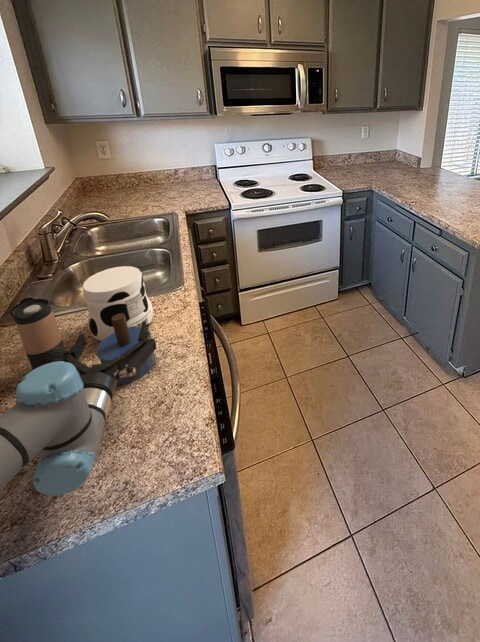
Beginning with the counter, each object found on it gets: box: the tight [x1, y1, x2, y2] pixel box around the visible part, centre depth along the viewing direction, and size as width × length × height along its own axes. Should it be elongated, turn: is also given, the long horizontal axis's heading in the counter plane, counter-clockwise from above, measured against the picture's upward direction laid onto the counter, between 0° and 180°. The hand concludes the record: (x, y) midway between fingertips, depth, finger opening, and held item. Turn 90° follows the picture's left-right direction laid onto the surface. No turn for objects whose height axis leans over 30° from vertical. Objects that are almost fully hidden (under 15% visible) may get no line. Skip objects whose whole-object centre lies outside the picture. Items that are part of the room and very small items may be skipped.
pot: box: [99, 326, 156, 386], centre depth 94 cm, size 12×17×8 cm
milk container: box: [82, 265, 154, 343], centre depth 108 cm, size 17×17×18 cm
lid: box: [95, 313, 152, 362], centre depth 92 cm, size 13×13×9 cm
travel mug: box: [11, 298, 66, 371], centre depth 92 cm, size 8×8×20 cm
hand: (114, 332), depth 87 cm, fingers open, 13 cm apart
